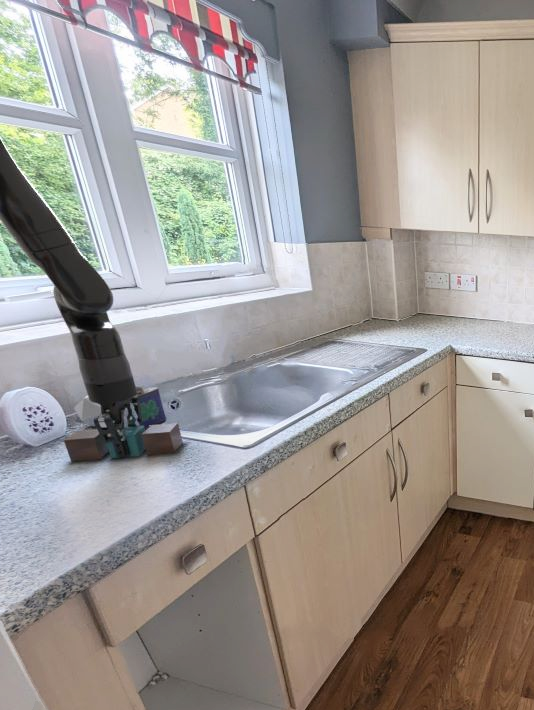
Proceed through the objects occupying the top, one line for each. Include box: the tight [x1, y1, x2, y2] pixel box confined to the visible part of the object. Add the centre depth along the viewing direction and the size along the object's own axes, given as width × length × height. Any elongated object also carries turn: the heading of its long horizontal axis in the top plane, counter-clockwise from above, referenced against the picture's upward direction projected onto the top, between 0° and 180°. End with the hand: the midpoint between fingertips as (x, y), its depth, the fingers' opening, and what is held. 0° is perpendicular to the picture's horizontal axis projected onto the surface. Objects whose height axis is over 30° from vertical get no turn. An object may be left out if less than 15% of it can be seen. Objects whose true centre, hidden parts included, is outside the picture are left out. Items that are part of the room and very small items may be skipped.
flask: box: [134, 385, 167, 431], centre depth 109 cm, size 9×3×11 cm, turn 171°
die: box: [73, 394, 102, 427], centre depth 109 cm, size 8×9×10 cm
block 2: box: [142, 422, 184, 456], centre depth 100 cm, size 5×5×5 cm
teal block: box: [107, 426, 146, 459], centre depth 98 cm, size 5×5×5 cm
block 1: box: [63, 428, 110, 463], centre depth 96 cm, size 5×5×5 cm
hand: (130, 450), depth 98 cm, fingers closed on teal block, 5 cm apart
